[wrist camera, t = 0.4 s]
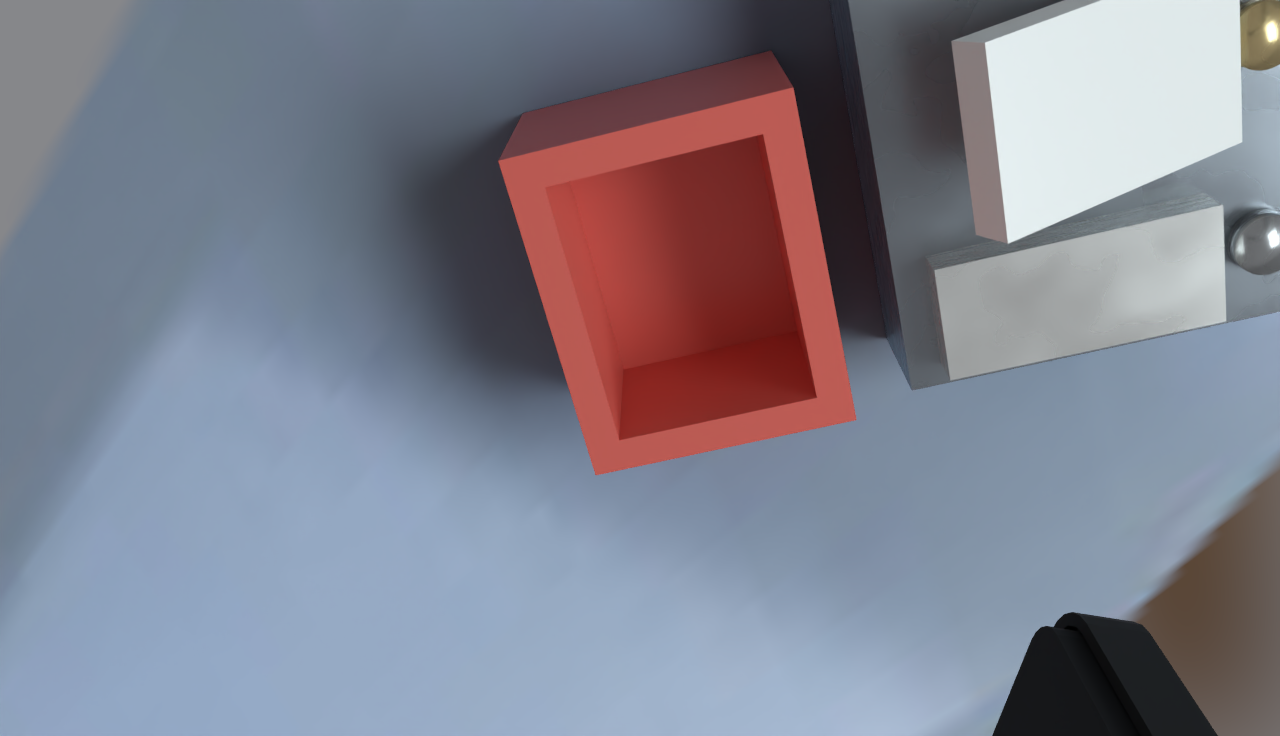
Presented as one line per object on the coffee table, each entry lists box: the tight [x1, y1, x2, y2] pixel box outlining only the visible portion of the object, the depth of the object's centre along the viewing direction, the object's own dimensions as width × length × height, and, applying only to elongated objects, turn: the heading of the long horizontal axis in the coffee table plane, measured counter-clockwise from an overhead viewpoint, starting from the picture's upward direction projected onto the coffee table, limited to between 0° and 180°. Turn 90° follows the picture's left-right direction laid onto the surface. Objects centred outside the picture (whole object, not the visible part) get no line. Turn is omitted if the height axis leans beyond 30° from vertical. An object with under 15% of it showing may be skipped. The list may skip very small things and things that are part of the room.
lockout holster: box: [498, 51, 856, 475], centre depth 33 cm, size 8×10×6 cm
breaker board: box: [829, 0, 1280, 390], centre depth 31 cm, size 12×17×5 cm
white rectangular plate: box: [951, 0, 1242, 244], centre depth 28 cm, size 8×5×1 cm, turn 104°
